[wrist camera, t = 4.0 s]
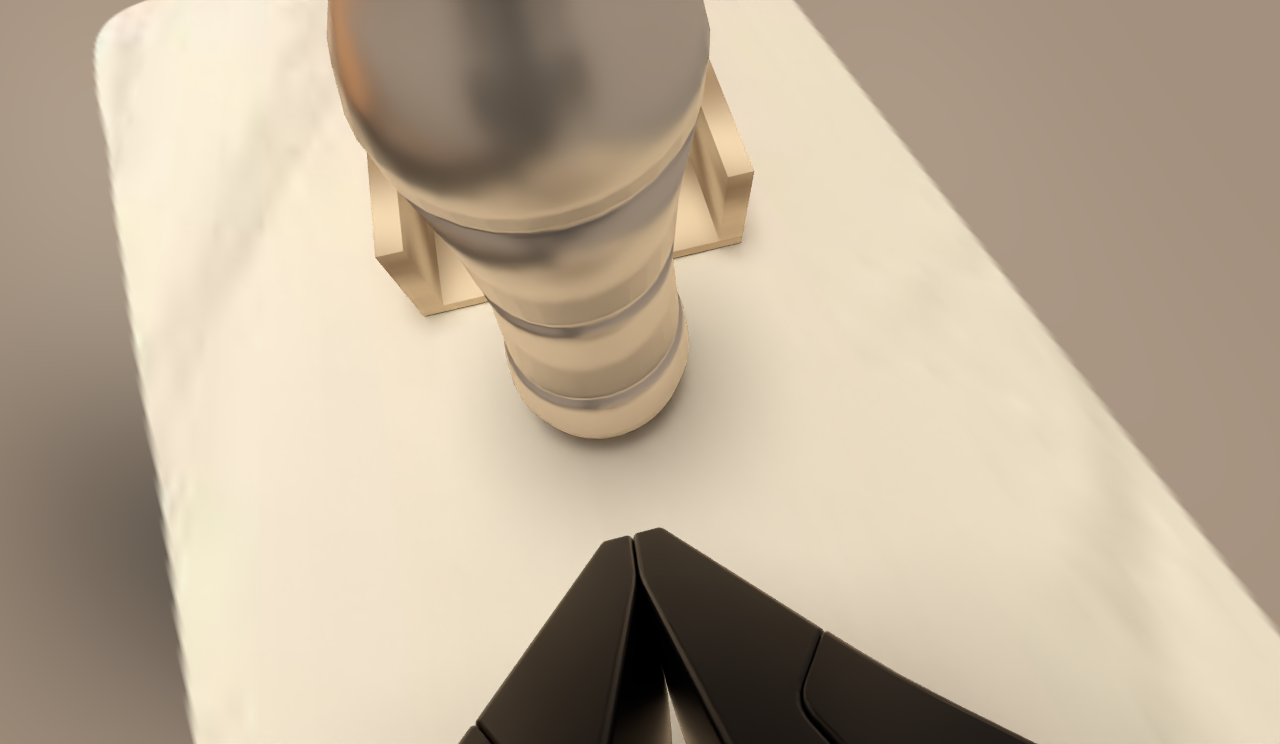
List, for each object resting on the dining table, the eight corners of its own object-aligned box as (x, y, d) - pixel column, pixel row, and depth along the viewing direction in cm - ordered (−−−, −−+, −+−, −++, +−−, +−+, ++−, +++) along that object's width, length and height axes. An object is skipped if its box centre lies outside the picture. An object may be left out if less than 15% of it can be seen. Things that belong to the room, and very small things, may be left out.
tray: (740, 242, 26) (754, 171, 22) (423, 316, 25) (375, 257, 21) (622, -78, 34) (616, -173, 30) (385, -29, 34) (345, -119, 30)
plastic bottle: (493, 402, 24) (-160, -378, 5) (585, 274, 26) (365, -614, 7) (630, 484, 22) (424, -193, 4) (717, 342, 24) (877, -562, 6)
